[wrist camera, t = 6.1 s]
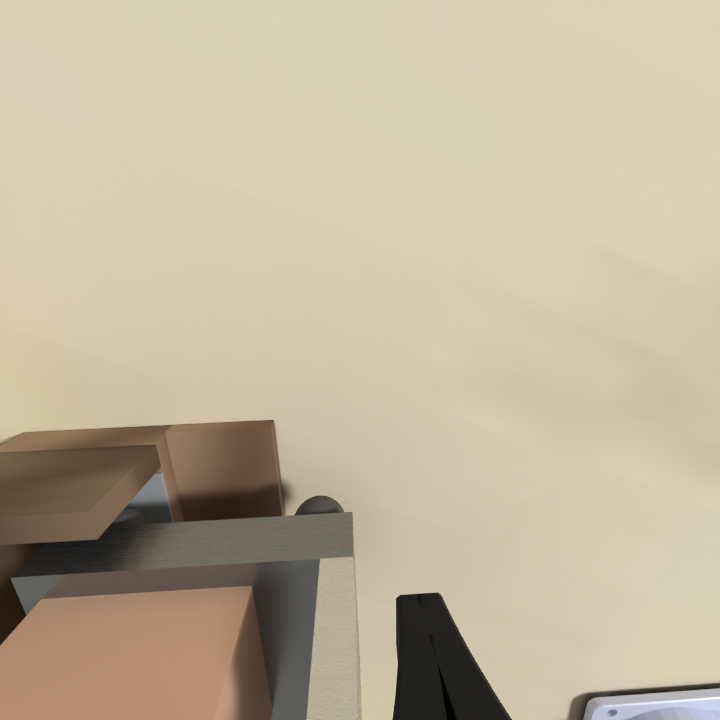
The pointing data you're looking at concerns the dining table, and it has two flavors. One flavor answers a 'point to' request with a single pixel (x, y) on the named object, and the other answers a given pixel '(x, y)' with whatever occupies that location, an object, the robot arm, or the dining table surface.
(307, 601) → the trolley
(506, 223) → the dining table surface
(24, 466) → the dock
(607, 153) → the dining table surface
